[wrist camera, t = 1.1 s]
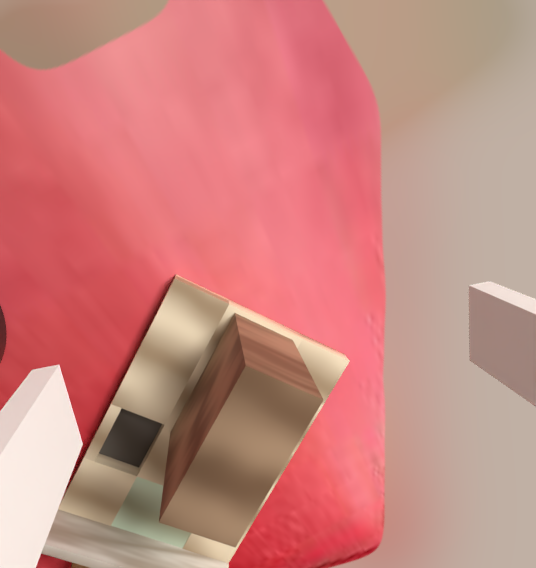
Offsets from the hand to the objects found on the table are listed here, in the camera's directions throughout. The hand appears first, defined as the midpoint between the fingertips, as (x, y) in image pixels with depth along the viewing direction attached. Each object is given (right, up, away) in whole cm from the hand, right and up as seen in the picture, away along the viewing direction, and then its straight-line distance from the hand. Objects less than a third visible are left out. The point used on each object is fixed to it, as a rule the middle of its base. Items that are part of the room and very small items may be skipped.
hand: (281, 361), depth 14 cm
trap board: (-7, -12, +29) cm, 32 cm away
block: (-4, -7, +27) cm, 28 cm away
